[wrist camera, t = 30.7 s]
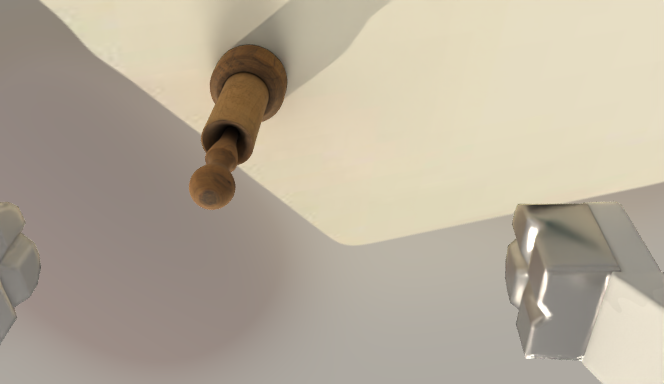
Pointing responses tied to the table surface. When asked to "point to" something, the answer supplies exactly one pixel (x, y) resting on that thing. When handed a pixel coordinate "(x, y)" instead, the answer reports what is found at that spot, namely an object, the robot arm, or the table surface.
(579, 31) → the table surface
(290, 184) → the table surface
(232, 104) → the mortar and pestle
